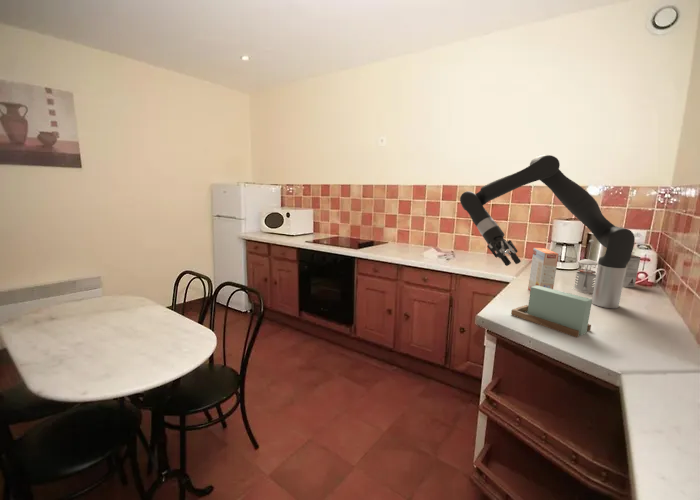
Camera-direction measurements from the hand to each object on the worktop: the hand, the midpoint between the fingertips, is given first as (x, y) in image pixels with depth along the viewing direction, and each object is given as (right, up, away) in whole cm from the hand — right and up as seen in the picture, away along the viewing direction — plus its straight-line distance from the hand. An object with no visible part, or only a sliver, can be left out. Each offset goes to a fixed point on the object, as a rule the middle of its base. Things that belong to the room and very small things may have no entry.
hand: (513, 263), depth 128 cm
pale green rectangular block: (+9, -21, -12) cm, 26 cm away
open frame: (+8, -21, -10) cm, 24 cm away
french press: (+49, -14, +30) cm, 59 cm away
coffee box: (+78, -13, +41) cm, 89 cm away
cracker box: (+23, -15, +22) cm, 36 cm away
